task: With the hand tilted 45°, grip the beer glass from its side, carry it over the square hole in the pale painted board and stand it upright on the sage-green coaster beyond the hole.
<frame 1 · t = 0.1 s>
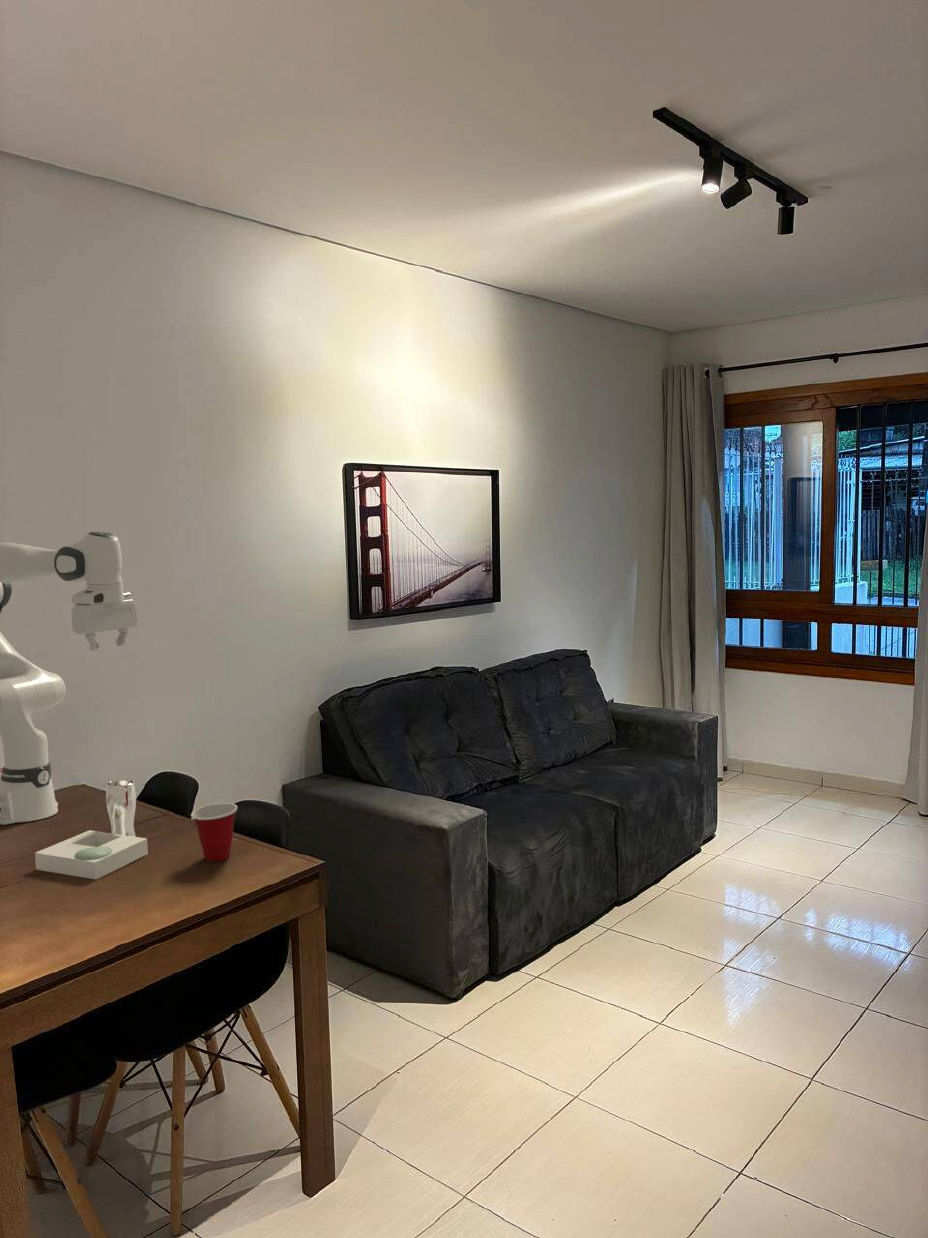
hand: (107, 647, 242), 48 cm above the table, tool pointing down, fingers open, 8 cm apart
pale board: (93, 862, 221), on the table
plastic cup: (216, 858, 223), on the table
beer glass: (123, 841, 236), on the table
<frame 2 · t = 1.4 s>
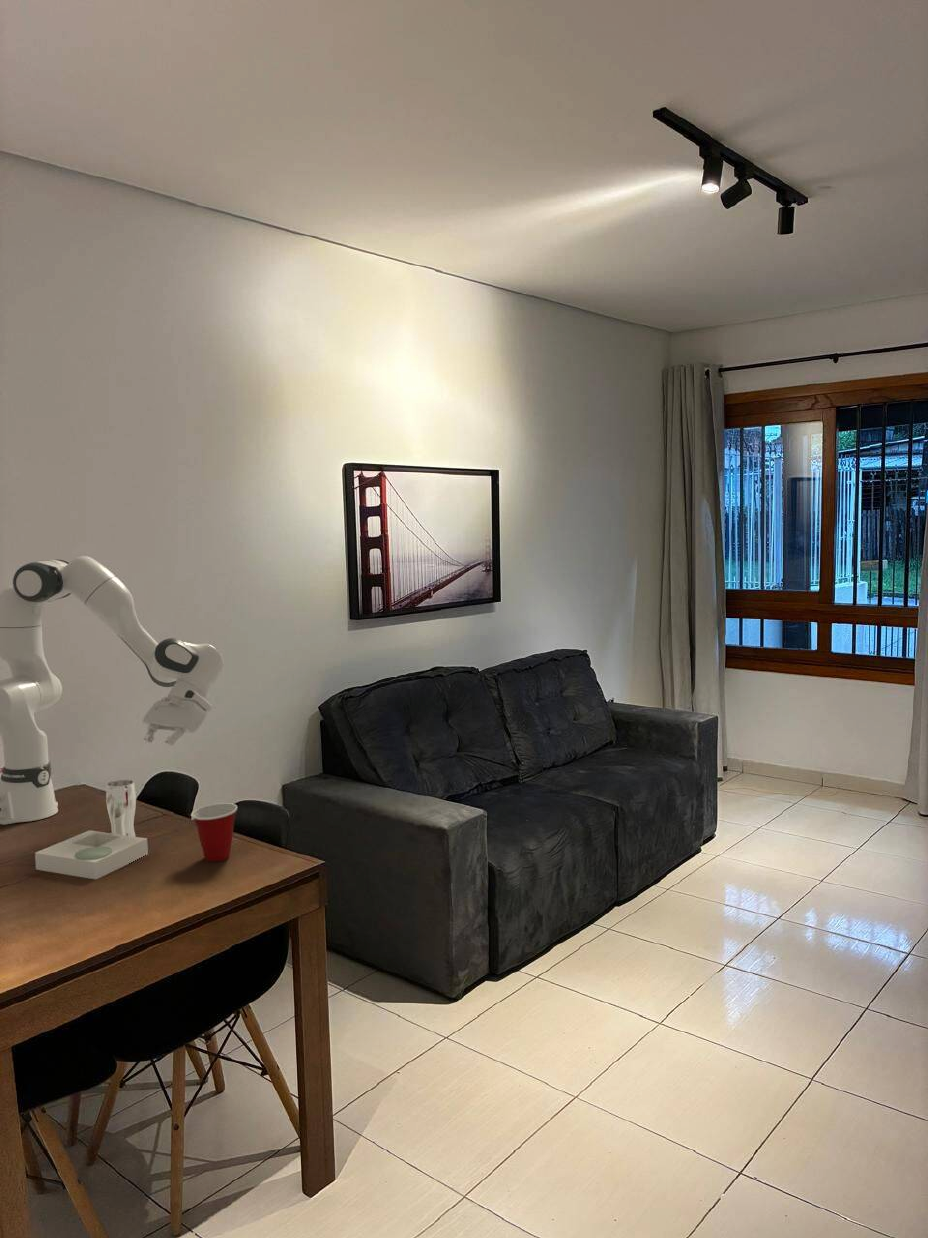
hand: (157, 742, 243), 23 cm above the table, tool tilted 45°, fingers open, 8 cm apart
nothing on the table moved.
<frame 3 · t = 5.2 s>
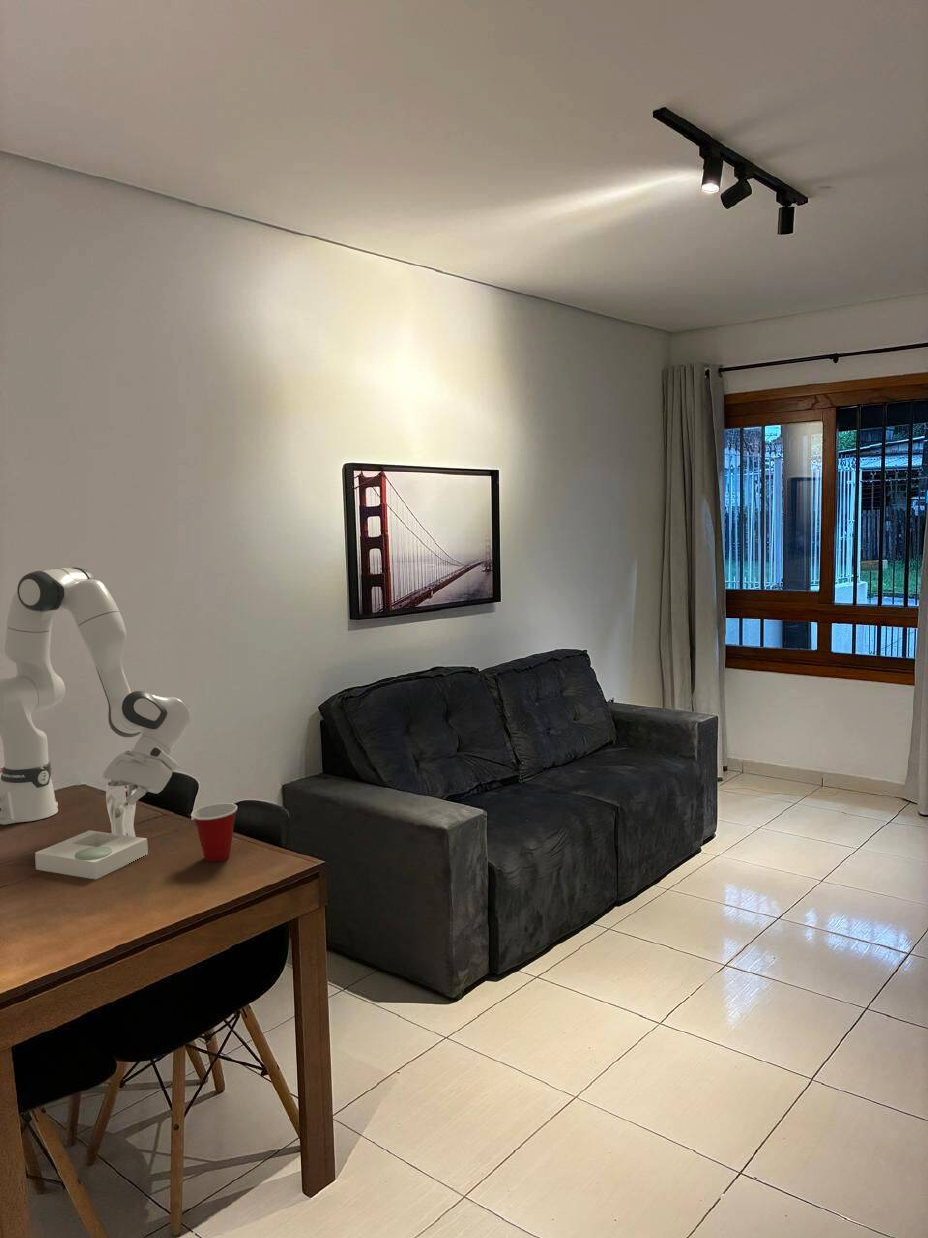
hand: (119, 801, 234), 10 cm above the table, tool tilted 45°, fingers closed on beer glass, 7 cm apart
beer glass: (123, 841, 236), on the table, touching gripper
everything else where it was.
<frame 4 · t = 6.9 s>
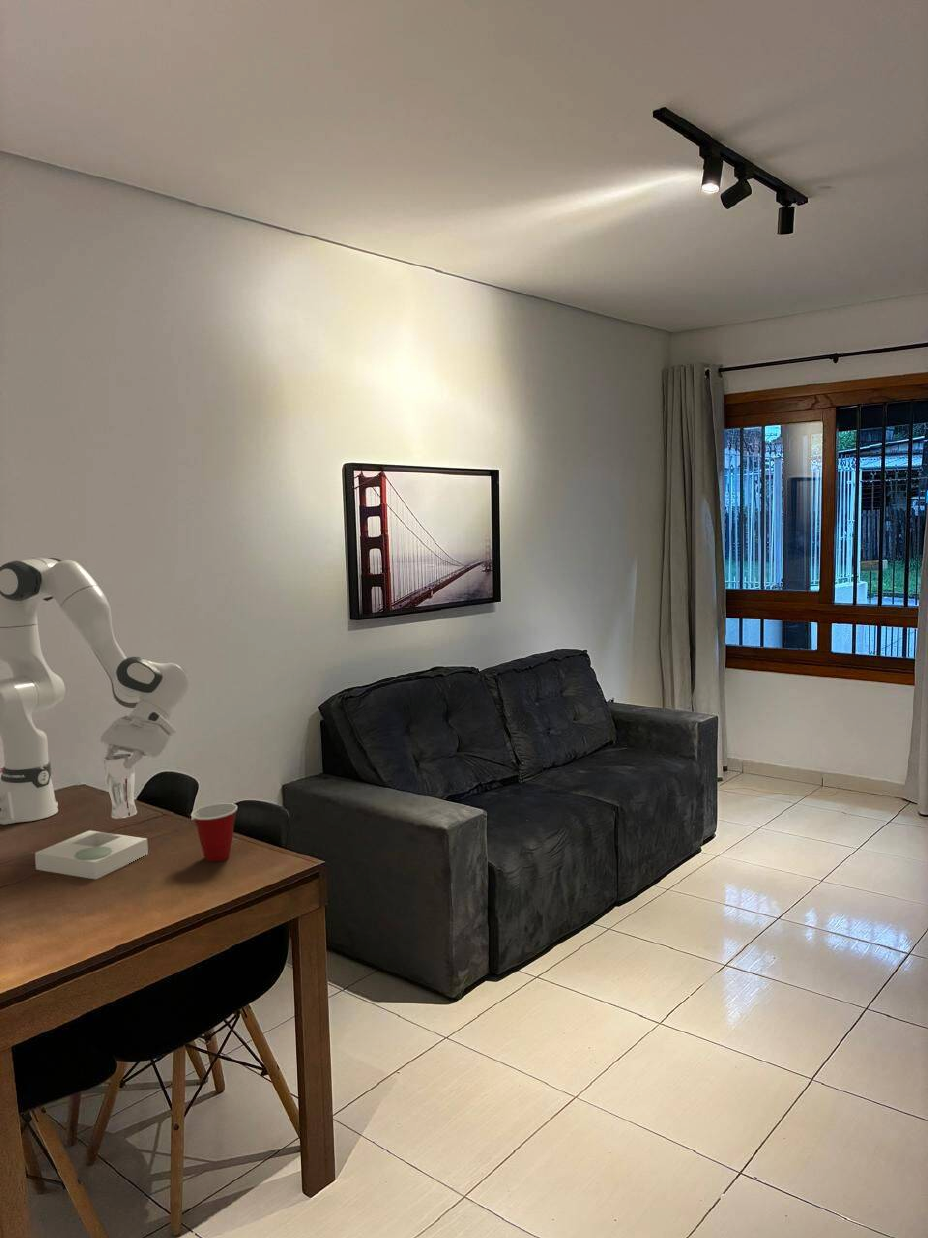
hand: (116, 765, 233), 20 cm above the table, tool tilted 45°, fingers closed on beer glass, 6 cm apart
beer glass: (124, 815, 235), point 7 cm above the table, touching gripper
everything else where it was.
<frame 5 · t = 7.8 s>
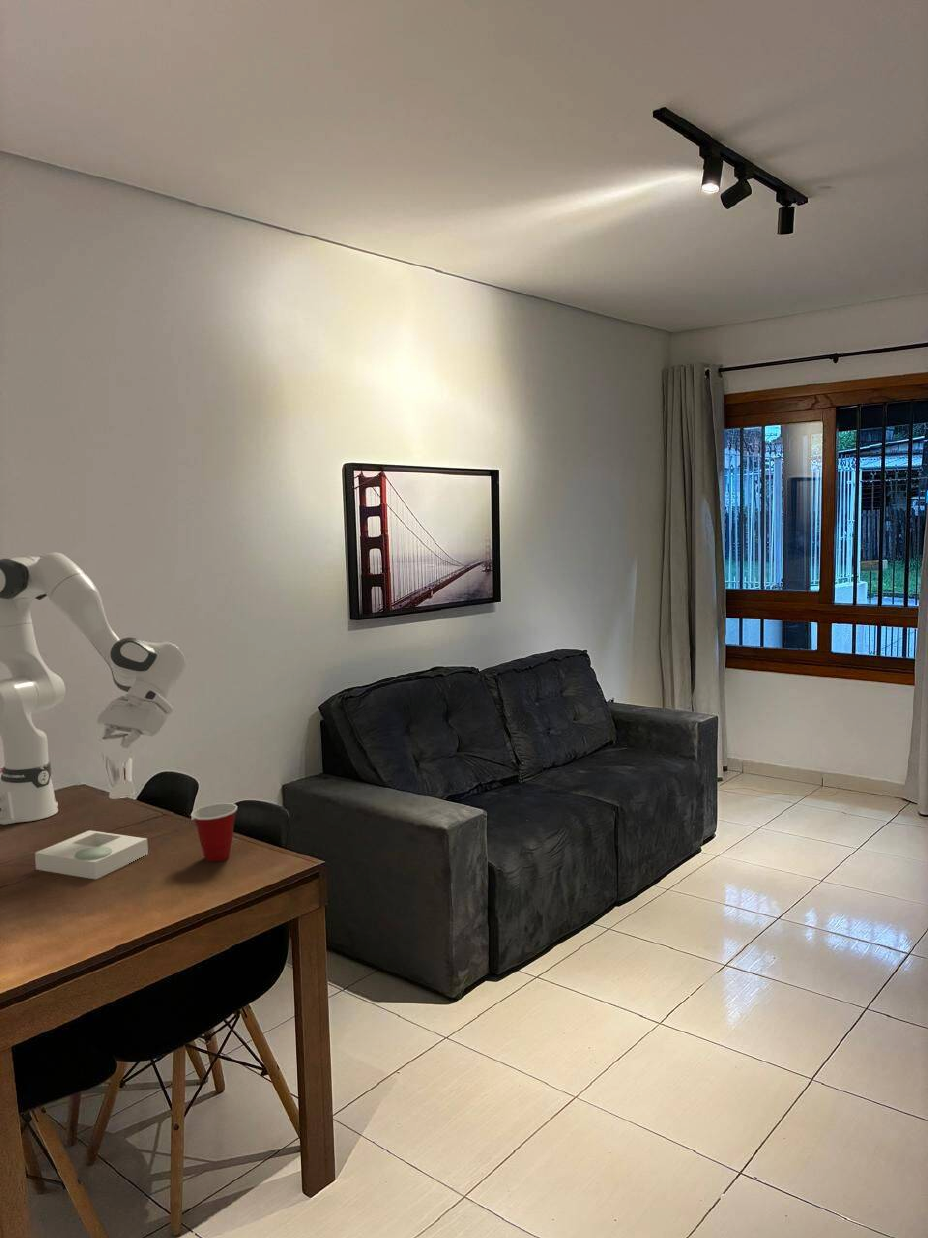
hand: (113, 744, 230), 25 cm above the table, tool tilted 45°, fingers closed on beer glass, 6 cm apart
beer glass: (122, 796, 232), point 12 cm above the table, touching gripper
everything else where it was.
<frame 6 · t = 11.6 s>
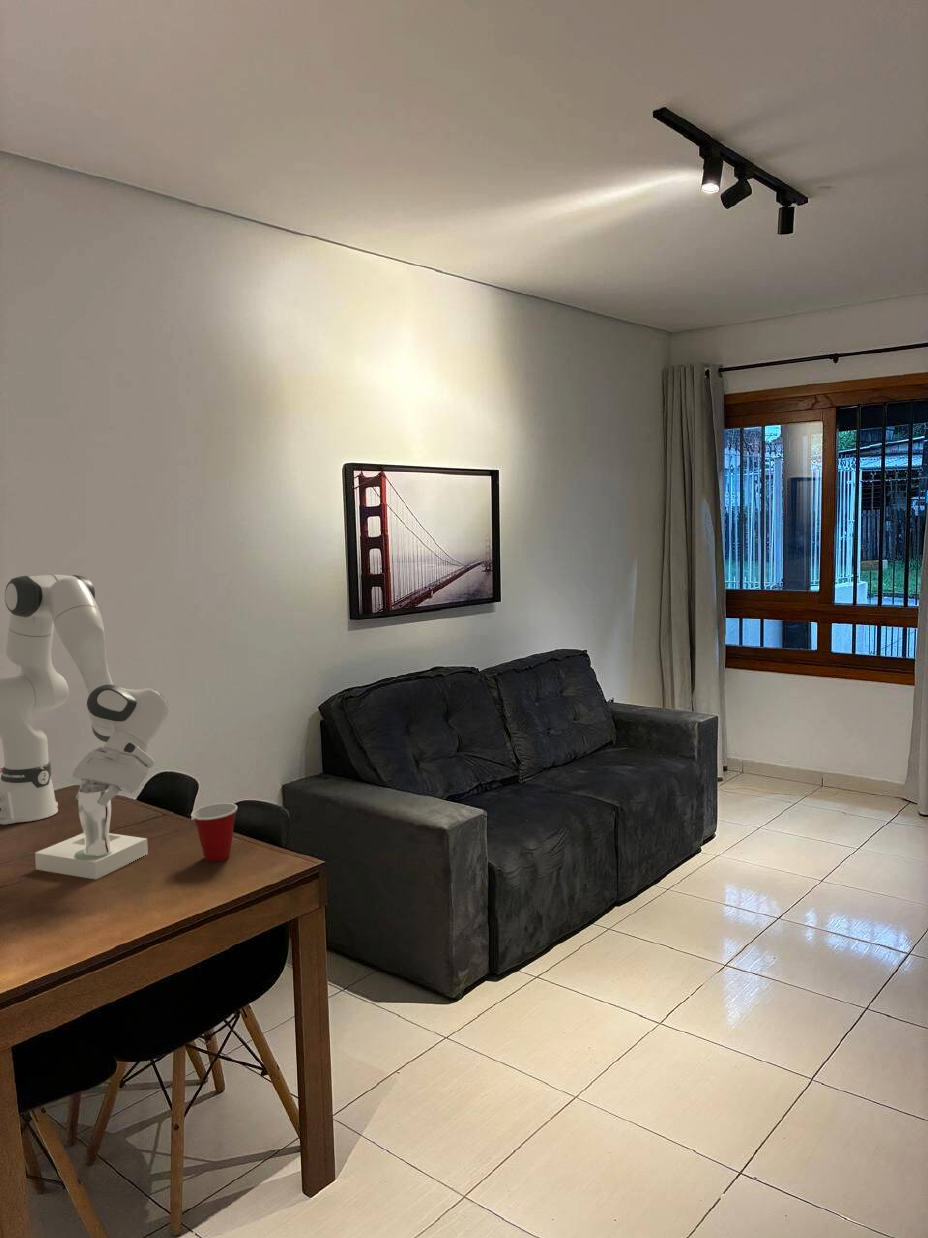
hand: (89, 802, 213), 16 cm above the table, tool tilted 45°, fingers closed on beer glass, 6 cm apart
beer glass: (97, 853, 215), point 4 cm above the table, touching gripper, pale board
everything else where it was.
when the fingers open (16 cm above the table, at t = 11.7 s): beer glass stays where it is, resting on pale board.
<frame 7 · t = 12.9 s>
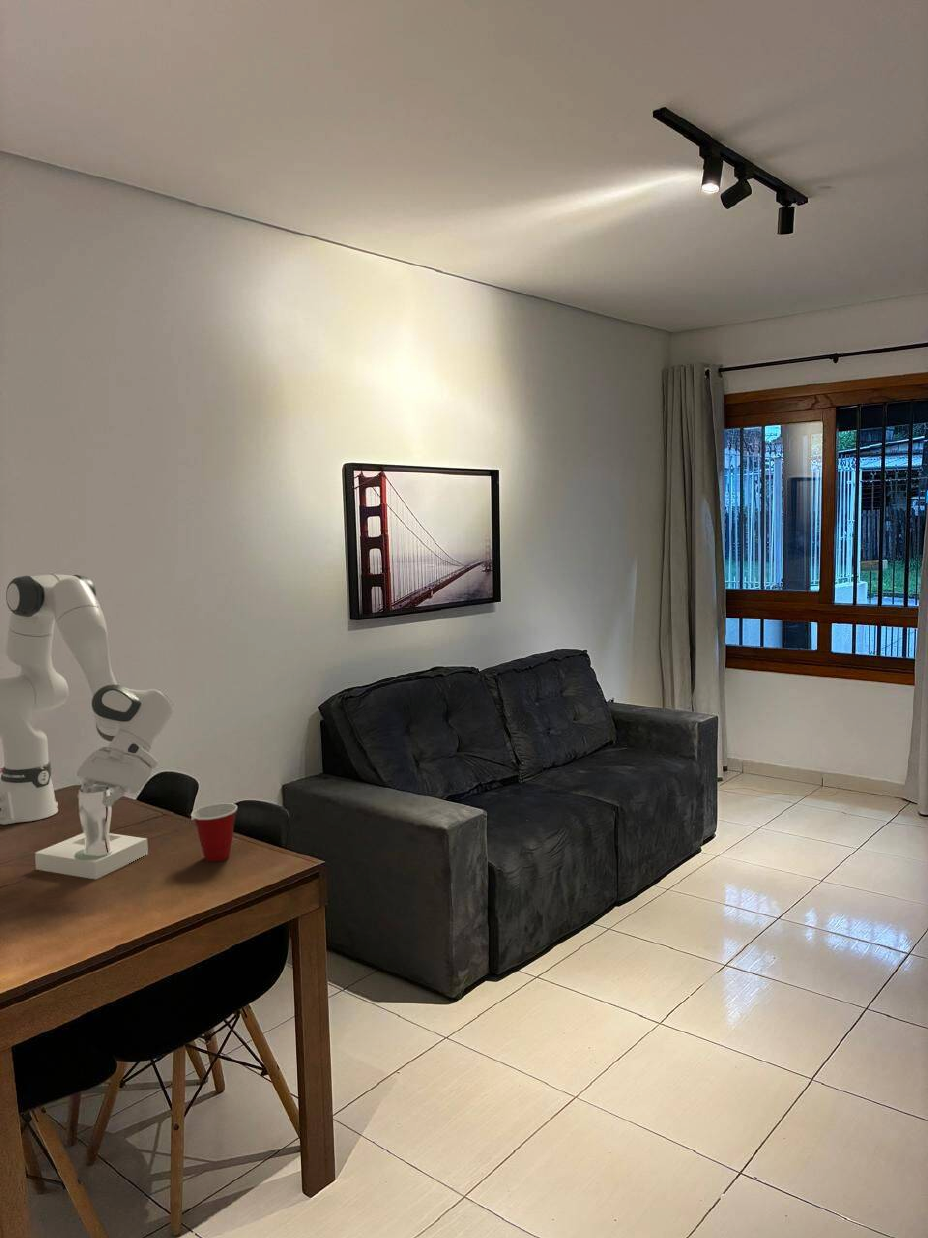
hand: (93, 802, 214), 16 cm above the table, tool tilted 45°, fingers open, 8 cm apart
beer glass: (97, 853, 215), point 4 cm above the table, touching pale board
everything else where it was.
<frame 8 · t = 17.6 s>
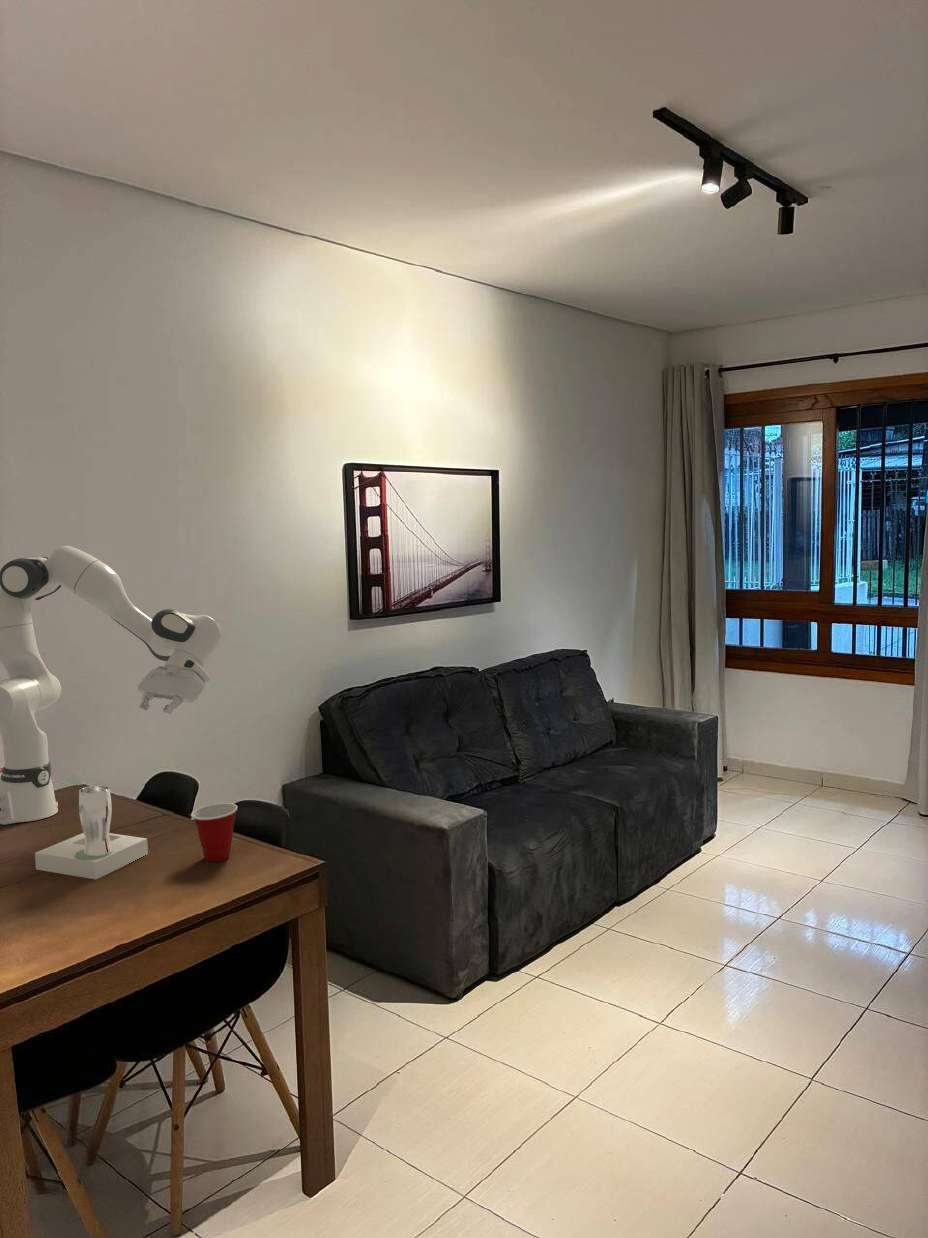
hand: (154, 710, 242), 31 cm above the table, tool tilted 45°, fingers open, 8 cm apart
nothing on the table moved.
at the end: beer glass 1.0 cm from the target spot on the pale board, point 4.1 cm above the pale board's base; beer glass tilted 0°; the gripper is holding nothing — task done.
